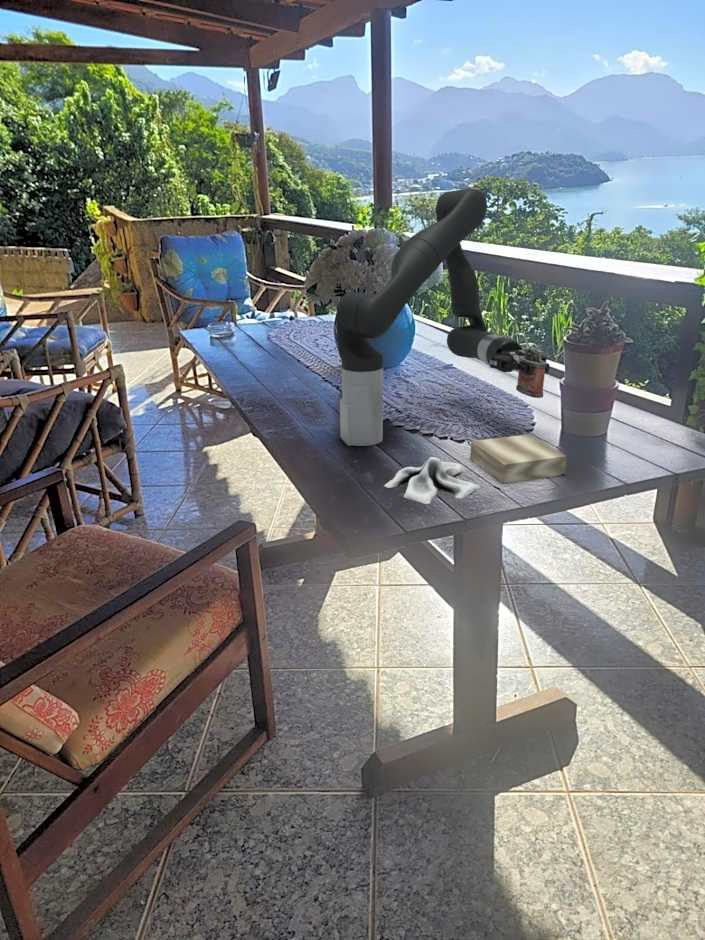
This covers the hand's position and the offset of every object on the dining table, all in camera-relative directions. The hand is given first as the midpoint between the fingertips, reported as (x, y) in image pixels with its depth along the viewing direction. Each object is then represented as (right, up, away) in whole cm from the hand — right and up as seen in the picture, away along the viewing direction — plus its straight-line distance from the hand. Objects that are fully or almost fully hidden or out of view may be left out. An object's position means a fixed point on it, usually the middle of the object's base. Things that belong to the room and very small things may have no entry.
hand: (539, 369), depth 143 cm
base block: (-6, -21, -4) cm, 22 cm away
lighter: (-1, -5, +5) cm, 7 cm away
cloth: (-26, -25, -11) cm, 38 cm away
